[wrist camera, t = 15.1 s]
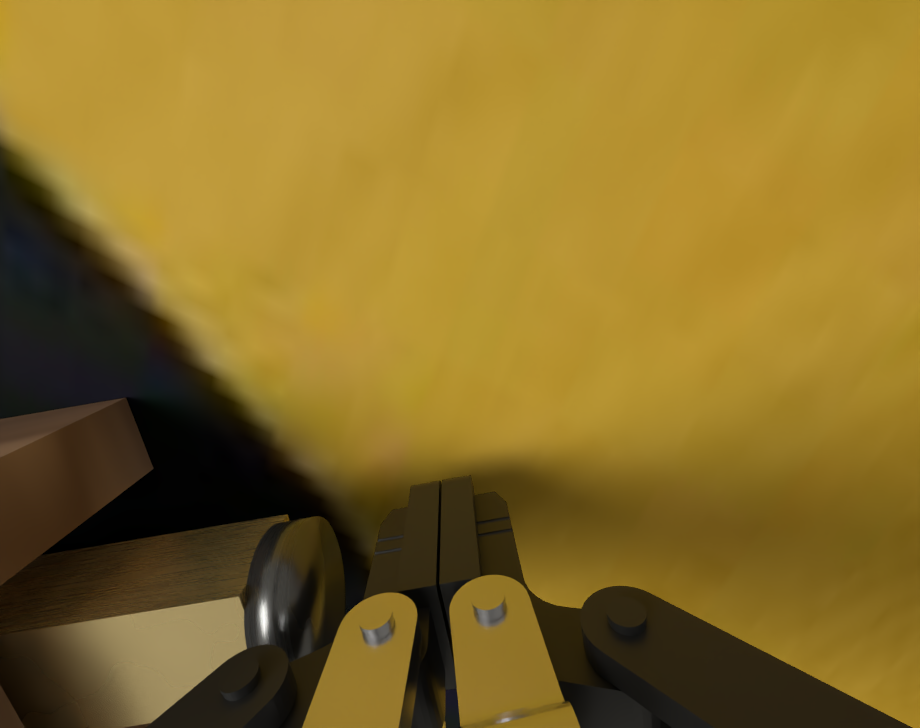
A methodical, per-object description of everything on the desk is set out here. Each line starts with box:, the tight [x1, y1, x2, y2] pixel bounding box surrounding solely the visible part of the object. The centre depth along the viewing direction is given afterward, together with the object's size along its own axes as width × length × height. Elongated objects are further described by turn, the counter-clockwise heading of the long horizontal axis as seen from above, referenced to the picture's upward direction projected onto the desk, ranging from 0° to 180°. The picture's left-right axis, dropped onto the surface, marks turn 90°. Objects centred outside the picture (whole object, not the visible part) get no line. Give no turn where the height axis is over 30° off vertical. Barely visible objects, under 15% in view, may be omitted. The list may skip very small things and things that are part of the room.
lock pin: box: [0, 514, 345, 728], centre depth 9 cm, size 3×12×3 cm, turn 100°
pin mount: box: [0, 398, 154, 728], centre depth 9 cm, size 8×4×6 cm, turn 10°
